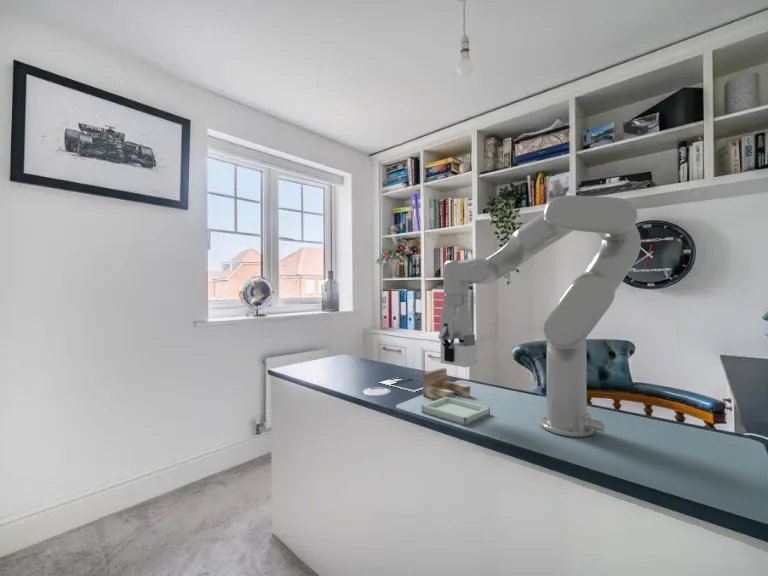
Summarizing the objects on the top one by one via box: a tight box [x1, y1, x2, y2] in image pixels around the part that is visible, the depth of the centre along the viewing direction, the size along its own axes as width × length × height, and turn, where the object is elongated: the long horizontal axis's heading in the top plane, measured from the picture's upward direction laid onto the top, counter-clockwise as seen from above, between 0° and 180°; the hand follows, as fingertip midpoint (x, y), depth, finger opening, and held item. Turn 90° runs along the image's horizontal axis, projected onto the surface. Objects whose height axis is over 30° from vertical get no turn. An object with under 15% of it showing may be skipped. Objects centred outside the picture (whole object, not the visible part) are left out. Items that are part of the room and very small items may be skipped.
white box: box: [440, 333, 478, 368], centre depth 110 cm, size 9×6×9 cm, turn 43°
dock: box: [422, 367, 471, 400], centre depth 126 cm, size 12×12×8 cm
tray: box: [421, 397, 491, 426], centre depth 108 cm, size 16×13×2 cm
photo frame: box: [378, 378, 423, 393], centre depth 142 cm, size 15×1×18 cm
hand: (456, 359), depth 111 cm, fingers closed on white box, 6 cm apart
